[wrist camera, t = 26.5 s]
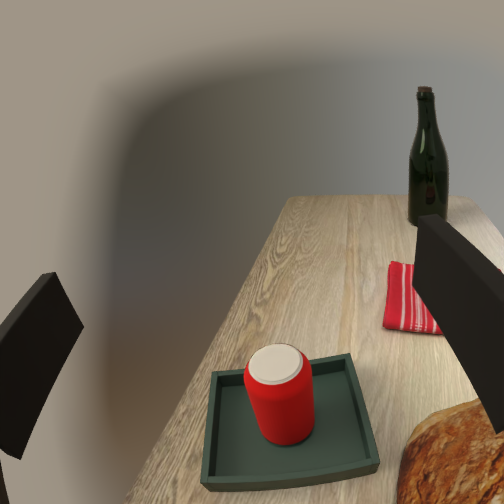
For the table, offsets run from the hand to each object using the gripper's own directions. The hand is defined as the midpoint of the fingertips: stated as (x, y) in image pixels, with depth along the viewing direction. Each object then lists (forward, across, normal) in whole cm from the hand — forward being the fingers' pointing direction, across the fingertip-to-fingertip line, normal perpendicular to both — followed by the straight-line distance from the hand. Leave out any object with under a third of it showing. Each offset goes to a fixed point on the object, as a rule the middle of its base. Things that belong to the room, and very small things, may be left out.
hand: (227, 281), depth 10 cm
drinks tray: (+10, 0, -28) cm, 30 cm away
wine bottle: (+56, +40, -28) cm, 74 cm away
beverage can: (+10, 0, -27) cm, 29 cm away
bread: (-3, +20, -28) cm, 35 cm away
